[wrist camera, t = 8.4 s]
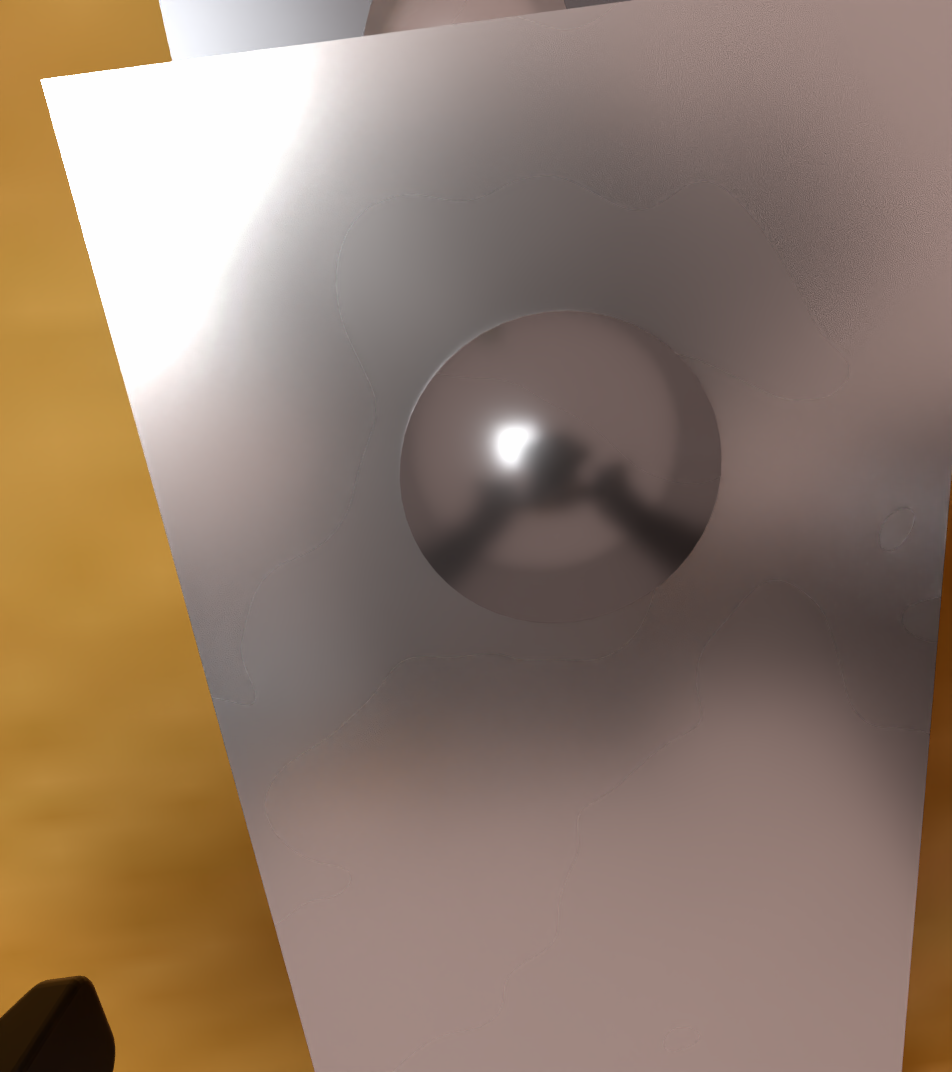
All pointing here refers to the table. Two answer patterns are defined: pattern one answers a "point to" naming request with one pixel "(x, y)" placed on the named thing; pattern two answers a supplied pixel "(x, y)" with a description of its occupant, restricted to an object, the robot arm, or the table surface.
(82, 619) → the table surface
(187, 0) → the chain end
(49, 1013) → the robot arm
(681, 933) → the master link
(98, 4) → the table surface
